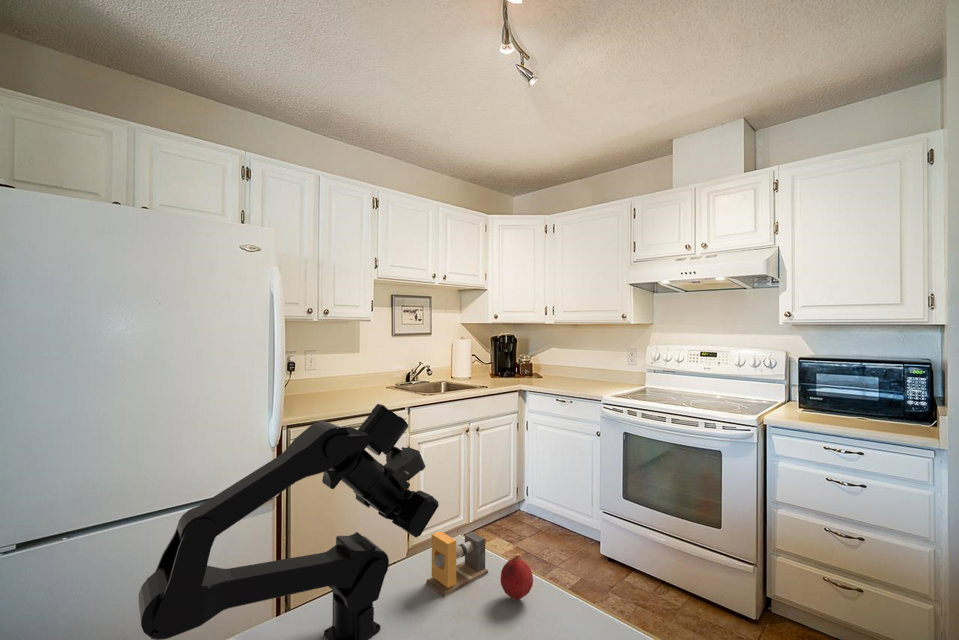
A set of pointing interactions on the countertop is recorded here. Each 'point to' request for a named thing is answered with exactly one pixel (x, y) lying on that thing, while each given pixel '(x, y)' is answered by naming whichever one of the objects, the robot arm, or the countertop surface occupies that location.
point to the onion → (516, 578)
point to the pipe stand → (463, 564)
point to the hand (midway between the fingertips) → (422, 523)
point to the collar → (448, 549)
